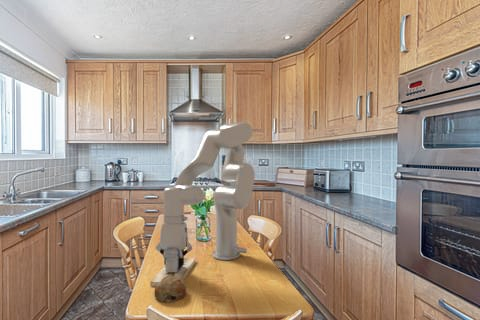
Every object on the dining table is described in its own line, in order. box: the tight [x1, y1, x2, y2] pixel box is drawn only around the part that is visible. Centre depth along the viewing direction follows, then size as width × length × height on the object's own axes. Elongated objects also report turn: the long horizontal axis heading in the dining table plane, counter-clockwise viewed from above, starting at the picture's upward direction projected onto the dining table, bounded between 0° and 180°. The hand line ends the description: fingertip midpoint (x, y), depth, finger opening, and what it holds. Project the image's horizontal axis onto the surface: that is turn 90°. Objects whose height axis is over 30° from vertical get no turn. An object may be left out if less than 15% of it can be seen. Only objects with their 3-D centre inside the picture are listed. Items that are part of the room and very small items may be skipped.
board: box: [149, 257, 197, 287], centre depth 116 cm, size 10×24×2 cm, turn 174°
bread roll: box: [153, 276, 187, 303], centre depth 97 cm, size 10×10×8 cm
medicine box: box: [165, 249, 180, 273], centre depth 115 cm, size 8×4×9 cm, turn 174°
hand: (174, 266), depth 115 cm, fingers closed on medicine box, 4 cm apart
